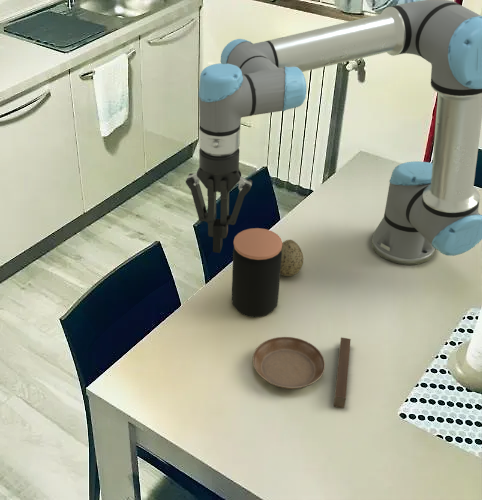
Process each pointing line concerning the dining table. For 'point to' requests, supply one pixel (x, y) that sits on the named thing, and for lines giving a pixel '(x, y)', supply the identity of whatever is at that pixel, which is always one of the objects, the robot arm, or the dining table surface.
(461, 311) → the dining table surface
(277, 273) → the coffee jar
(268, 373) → the saucer
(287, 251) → the decorative egg
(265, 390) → the dining table surface
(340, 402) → the walnut batten
